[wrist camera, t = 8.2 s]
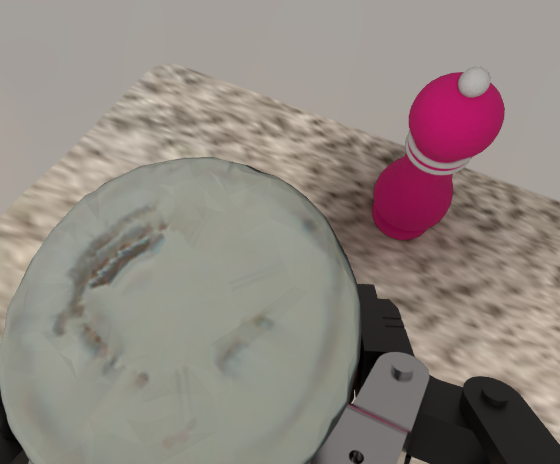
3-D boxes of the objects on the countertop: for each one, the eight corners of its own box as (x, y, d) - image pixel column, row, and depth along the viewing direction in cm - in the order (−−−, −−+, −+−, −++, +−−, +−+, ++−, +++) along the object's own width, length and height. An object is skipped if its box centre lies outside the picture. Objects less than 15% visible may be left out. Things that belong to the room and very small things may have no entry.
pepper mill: (449, 218, 40) (573, 76, 21) (399, 258, 39) (485, 143, 20) (401, 173, 42) (475, 10, 24) (353, 209, 41) (392, 66, 23)
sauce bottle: (219, 325, 24) (-87, 112, 5) (314, 298, 24) (336, 6, 5) (242, 438, 21) (-198, 792, 3) (347, 407, 21) (598, 542, 3)
